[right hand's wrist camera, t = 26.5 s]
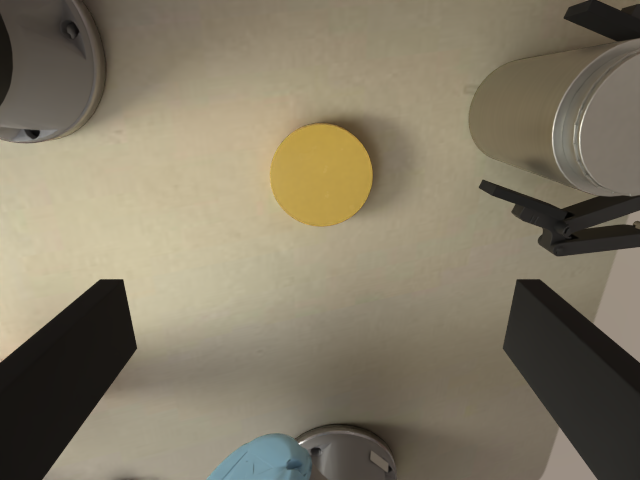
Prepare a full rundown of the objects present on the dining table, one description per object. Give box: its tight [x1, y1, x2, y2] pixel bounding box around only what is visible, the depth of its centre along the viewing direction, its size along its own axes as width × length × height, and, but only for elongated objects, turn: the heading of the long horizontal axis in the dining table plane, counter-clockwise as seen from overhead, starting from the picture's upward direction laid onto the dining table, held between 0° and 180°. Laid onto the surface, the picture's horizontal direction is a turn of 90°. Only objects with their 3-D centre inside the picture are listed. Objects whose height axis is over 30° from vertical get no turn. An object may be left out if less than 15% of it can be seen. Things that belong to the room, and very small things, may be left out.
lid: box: [270, 123, 373, 226], centre depth 37 cm, size 10×10×2 cm
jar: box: [469, 38, 640, 196], centre depth 28 cm, size 9×9×16 cm
